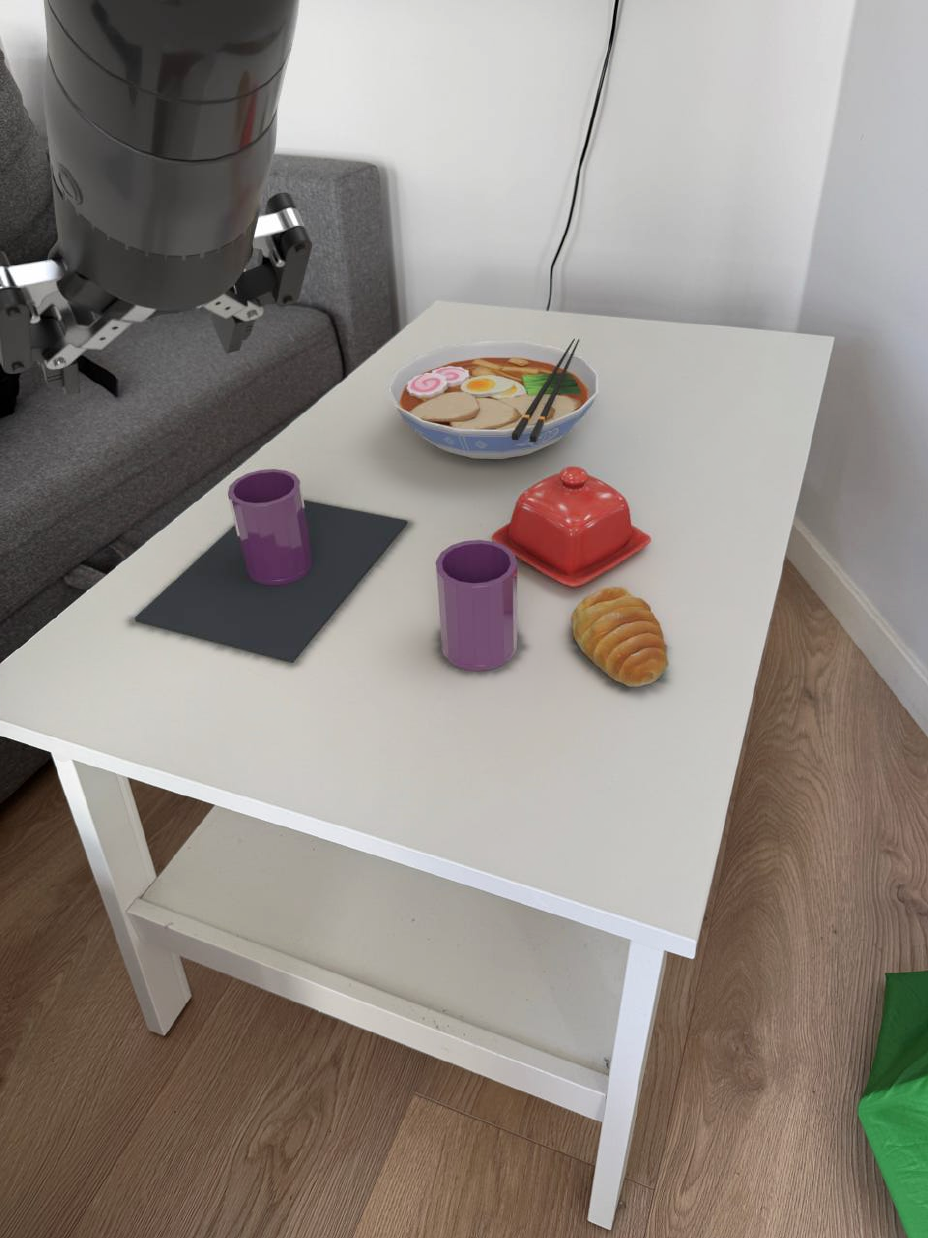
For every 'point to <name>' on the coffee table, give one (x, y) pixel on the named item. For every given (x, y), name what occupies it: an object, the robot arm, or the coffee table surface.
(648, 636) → the pastry
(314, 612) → the mat
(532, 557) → the butter dish
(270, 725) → the coffee table surface
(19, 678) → the coffee table surface
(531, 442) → the ramen bowl
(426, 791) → the coffee table surface
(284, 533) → the plum cup front
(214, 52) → the robot arm
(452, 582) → the plum cup side
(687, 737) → the coffee table surface
